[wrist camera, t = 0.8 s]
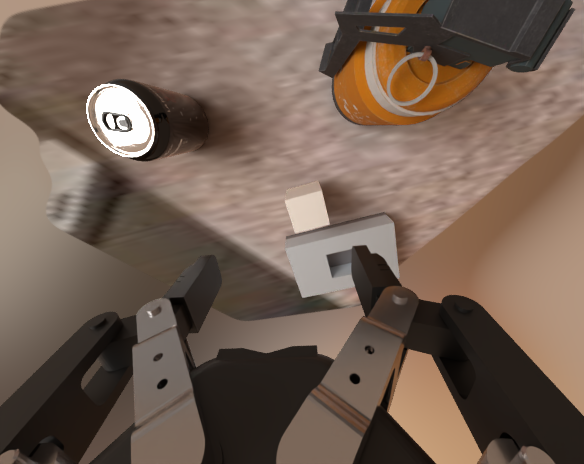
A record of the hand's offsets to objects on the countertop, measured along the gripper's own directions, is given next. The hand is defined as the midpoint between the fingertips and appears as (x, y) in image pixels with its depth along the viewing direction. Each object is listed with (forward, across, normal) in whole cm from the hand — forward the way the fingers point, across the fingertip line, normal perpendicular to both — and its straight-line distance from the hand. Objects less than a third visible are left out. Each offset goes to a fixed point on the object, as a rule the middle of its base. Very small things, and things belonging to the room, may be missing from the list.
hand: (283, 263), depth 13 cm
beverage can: (+22, +14, -9) cm, 27 cm away
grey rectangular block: (+22, -7, +13) cm, 26 cm away
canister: (+22, -9, -11) cm, 26 cm away
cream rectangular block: (+22, -2, +2) cm, 22 cm away
